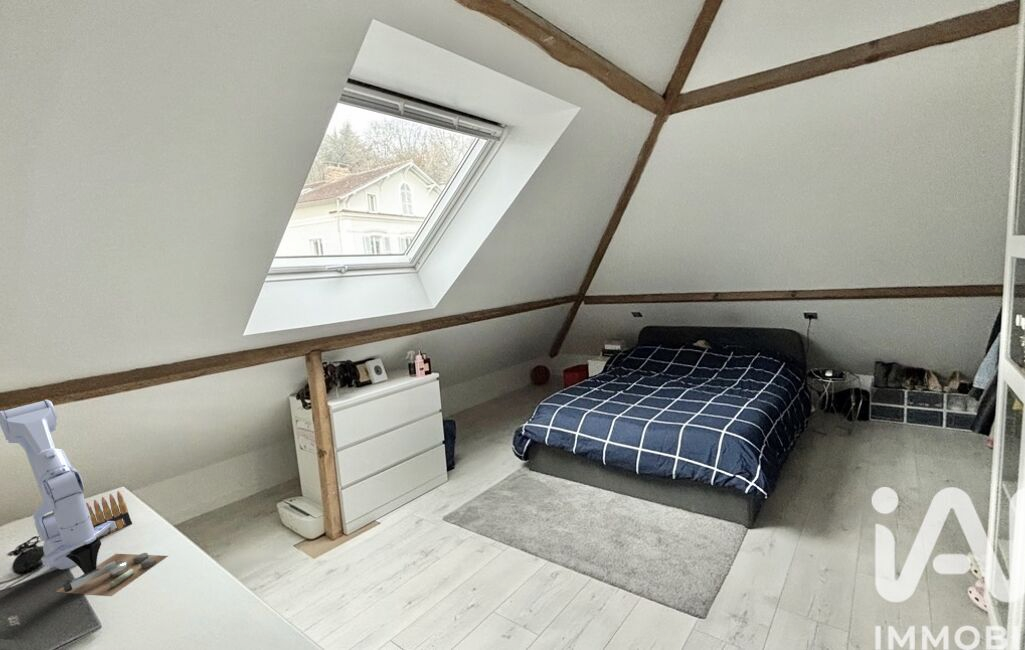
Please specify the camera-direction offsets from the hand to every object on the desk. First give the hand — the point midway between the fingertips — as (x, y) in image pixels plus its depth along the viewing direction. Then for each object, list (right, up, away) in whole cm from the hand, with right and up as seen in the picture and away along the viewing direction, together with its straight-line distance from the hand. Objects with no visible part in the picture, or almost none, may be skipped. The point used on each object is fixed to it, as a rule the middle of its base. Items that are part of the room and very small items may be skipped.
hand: (90, 573), depth 117 cm
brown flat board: (+4, -2, +2) cm, 5 cm away
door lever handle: (+3, -2, -1) cm, 4 cm away
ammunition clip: (-15, -2, +24) cm, 28 cm away
